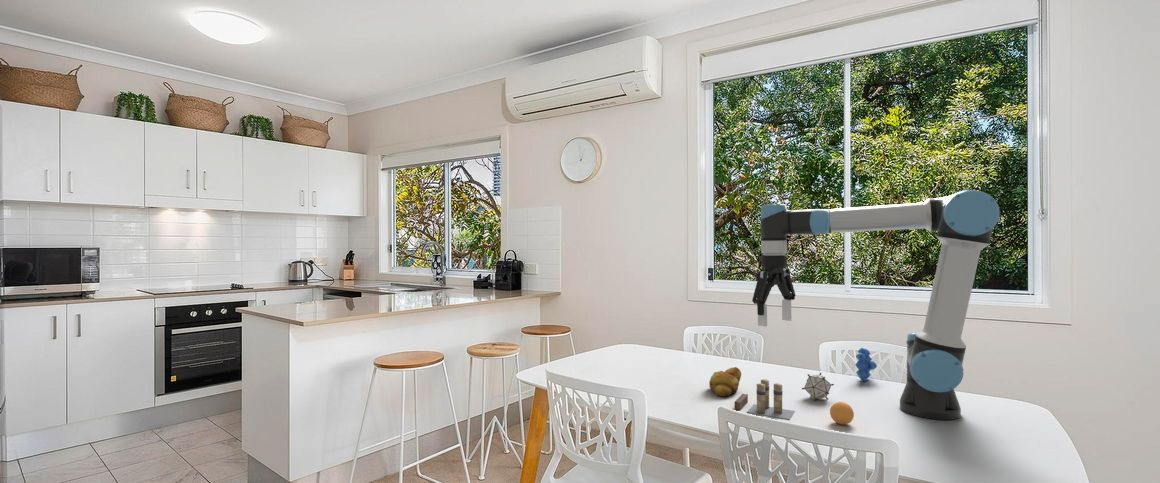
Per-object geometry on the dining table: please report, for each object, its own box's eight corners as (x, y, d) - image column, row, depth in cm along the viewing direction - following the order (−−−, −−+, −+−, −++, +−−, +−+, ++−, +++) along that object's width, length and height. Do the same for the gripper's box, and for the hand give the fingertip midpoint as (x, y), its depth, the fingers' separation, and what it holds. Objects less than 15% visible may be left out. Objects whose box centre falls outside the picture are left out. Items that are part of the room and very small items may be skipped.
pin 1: (766, 412, 160) (766, 384, 160) (764, 415, 158) (764, 386, 158) (757, 411, 161) (757, 383, 161) (755, 413, 159) (755, 385, 159)
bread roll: (732, 400, 172) (732, 375, 172) (702, 395, 177) (702, 371, 177) (743, 389, 183) (743, 366, 183) (714, 385, 188) (714, 362, 188)
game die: (823, 412, 171) (838, 392, 165) (797, 401, 173) (811, 381, 167) (823, 391, 178) (838, 372, 172) (798, 381, 180) (811, 361, 174)
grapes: (872, 386, 185) (873, 351, 184) (851, 383, 189) (851, 349, 189) (881, 379, 193) (881, 346, 193) (860, 376, 198) (860, 343, 198)
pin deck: (794, 411, 161) (794, 410, 161) (789, 419, 154) (789, 419, 154) (753, 404, 167) (753, 404, 167) (746, 412, 160) (746, 411, 160)
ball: (854, 422, 152) (854, 401, 152) (852, 429, 147) (852, 407, 146) (831, 418, 155) (831, 397, 155) (828, 425, 150) (828, 403, 150)
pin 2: (770, 407, 164) (770, 380, 164) (768, 410, 162) (768, 382, 162) (761, 406, 166) (761, 378, 165) (759, 408, 164) (759, 380, 163)
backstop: (747, 402, 170) (747, 394, 170) (739, 410, 162) (739, 402, 162) (742, 401, 170) (742, 393, 170) (734, 409, 163) (734, 401, 163)
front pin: (783, 412, 160) (783, 384, 160) (781, 415, 158) (781, 386, 158) (774, 411, 161) (774, 382, 161) (772, 413, 159) (772, 385, 159)
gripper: (784, 252, 178) (785, 316, 178) (739, 256, 162) (740, 326, 163) (806, 252, 172) (807, 319, 172) (761, 256, 156) (762, 329, 157)
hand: (775, 323), depth 167 cm, fingers open, 13 cm apart
